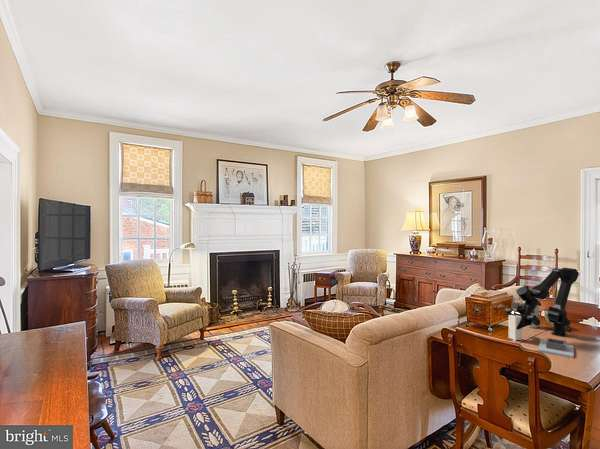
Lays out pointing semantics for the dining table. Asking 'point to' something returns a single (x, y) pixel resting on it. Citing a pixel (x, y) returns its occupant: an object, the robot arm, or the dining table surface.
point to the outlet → (556, 347)
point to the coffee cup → (534, 314)
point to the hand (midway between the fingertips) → (513, 327)
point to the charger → (513, 324)
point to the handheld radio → (551, 322)
